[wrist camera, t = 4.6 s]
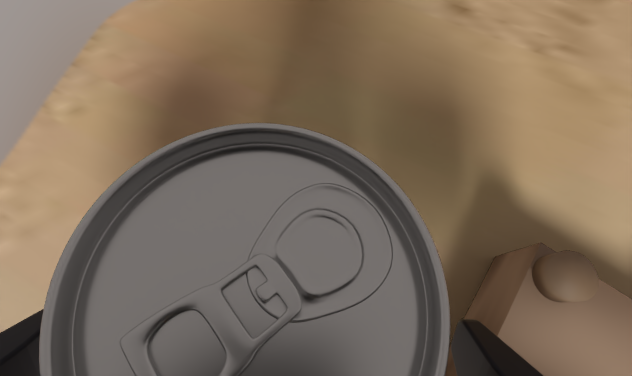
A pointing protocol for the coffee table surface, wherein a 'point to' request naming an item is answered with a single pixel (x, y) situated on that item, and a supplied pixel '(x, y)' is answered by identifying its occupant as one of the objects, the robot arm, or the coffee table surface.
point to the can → (249, 267)
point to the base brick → (555, 313)
